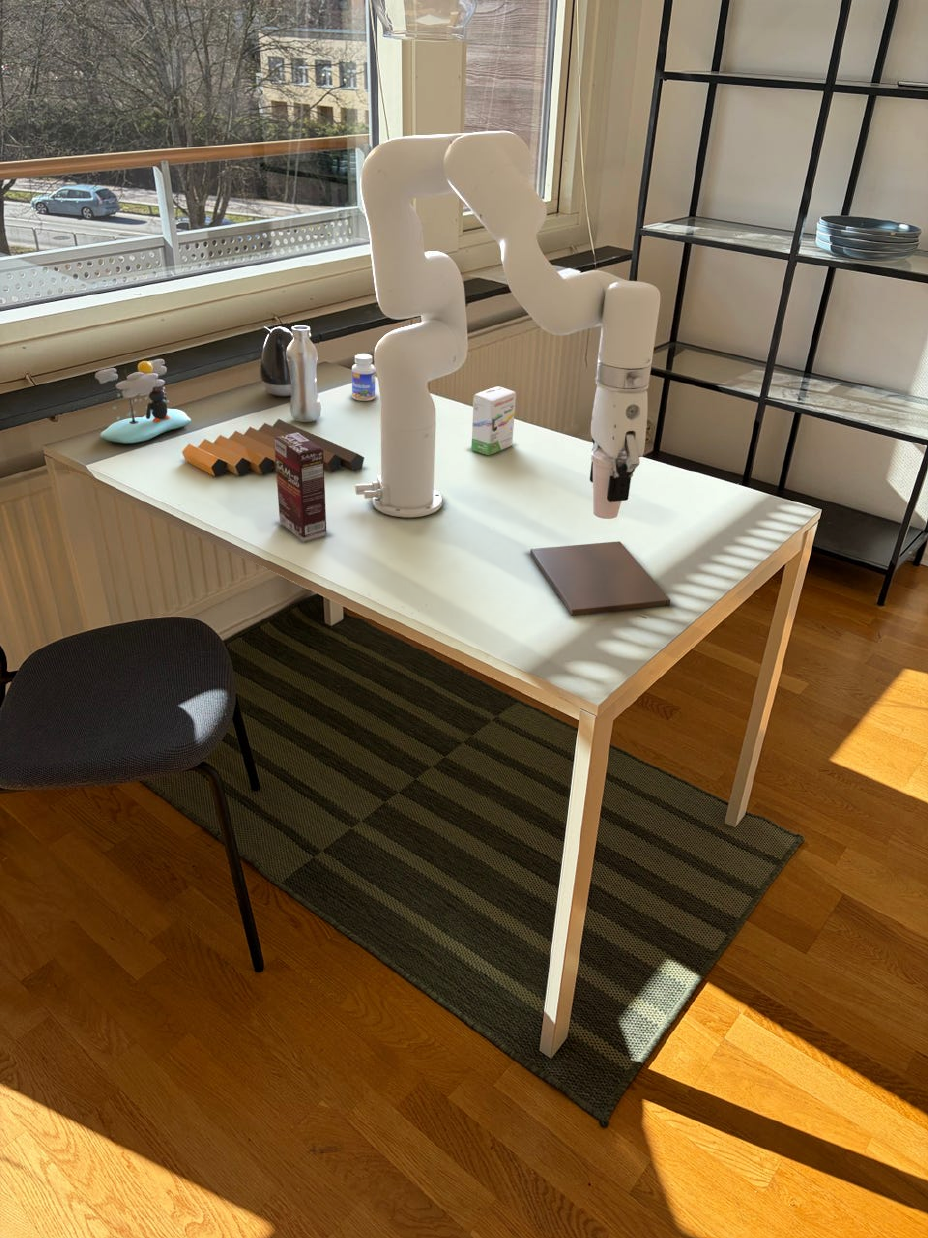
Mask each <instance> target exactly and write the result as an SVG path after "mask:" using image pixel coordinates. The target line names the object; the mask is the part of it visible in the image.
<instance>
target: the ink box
mask: <svg viewBox="0 0 928 1238" xmlns="http://www.w3.org/2000/svg"><path fill="white" fill-rule="evenodd" d="M516 399H517V392H516V391H514V390H511V389H509V388H505V387H503V386H500V385H499V386H494V387H491V388H489V389H485V390H483V391H480V392H477V393H475V394H474V395H473V400H472V424H471V425H472V426H471V443H470V445H471V446H470V450H471V451H472V452H476V453H480V454H483V455H485V456H492V455H494V454H496V453H498V452H500V451H503V450H504V449H507V448H509V447H512V446H513V443H514V441H513V439H514V429H515V428H514V425H515V412H516V402H517V401H516Z"/></svg>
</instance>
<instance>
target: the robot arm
mask: <svg viewBox="0 0 928 1238" xmlns="http://www.w3.org/2000/svg"><path fill="white" fill-rule="evenodd" d="M531 154H532V153H531V151H530V149H529V147H528V145H527V144H526V142H525V141H524V139H522V138H521V137H520V136H519V135H517V134H516V133H514V132H511V131H508V130H495V131H478V132H476V131H475V132H469V133H449V134H448V133H445V134H429V135H427V134H426V135H407V136H401V137H396V138H392V139H388V140H386V141H383V142H381V143H380V144H378V145H377V146H375V147H374V148H373V149H372V150H371V151H370V152H369V154H368V155H367V156H366V158H365V160H364V163H363V164H362V167H361V172H360V177H359V188H360V196H361V201H362V202H361V203H362V206H363V210H364V214H365V218H366V223H367V228H368V234H369V242H370V255H371V262H372V271H373V280H374V288H375V295H376V300H377V304H378V307H379V309H380V311H381V312H382V314H383V315H384V316H385V317H387V318H389V319H392V320H407V319H412V318H415V317H421V319H420V320H421V322H419V323H414V324H410V325H407V326H404V327H399V328H397V329H393V330H391V331H389V332H388V333H386V334H385V335H384V336H383V337H381V339H380V340H378V342H377V344H376V346H375V349H374V353H373V362H374V367H375V375H376V378H377V385H378V392H379V402H380V403H379V404H380V405H379V406H380V407H379V408H380V475H377V476H376V477H377V478H376V481H372V482H371V483H356V484H354V492H355V493H354V494H355V496H360V495H363V497H364V499H365V500H368V499H372V505H373V507H374V508H375V509H376V510H377V511H379V512H381V513H382V514H385V515H388V516H390V517H391V516H393V517H398V518H419V517H425V516H429V515H431V514H434V513H437V511H439V510H440V509H441V507H442V505H443V497H442V494H441V493H440V492H438V491H437V490H436V489H435V464H436V463H435V461H436V458H435V457H436V455H435V454H436V425H437V424H436V418H437V417H436V415H437V414H436V405H435V401H434V399H433V396H432V395H431V392H430V391H429V388H428V387H429V386H428V384H429V382H431V381H434V380H436V379H440V378H443V377H446V376H448V375H450V374H453V373H455V372H457V371H459V369H461V368H462V367H463V365H464V364H465V362H466V359H467V356H468V349H469V348H468V347H469V339H468V337H469V336H468V323H467V310H466V309H467V308H466V296H465V285H464V279H463V276H462V274H461V271H460V268H459V267H458V265H457V263H456V262H455V261H454V260H453V259H452V258H451V257H450V256H449V255H448V254H446V253H443V252H440V251H434V250H433V251H426V250H425V243H424V242H425V241H424V230H423V227H422V222H421V220H420V218H419V215H418V213H417V212H416V209H415V208H414V206H413V205H412V203H411V201H412V200H414V199H418V198H428V197H437V196H444V195H454V194H457V195H458V197H459V198H460V199H461V200H462V201H463V203H464V204H465V205H466V206H467V208H468V209H469V210H470V211H471V213H472V214H473V215H474V216H475V217H476V218H477V220H478V221H479V222H480V223H481V225H482V226H483V227H484V228H485V230H486V231H487V232H488V234H489V235H490V236H491V237H492V238H493V239H494V241H495V242H496V243H497V244H498V246H499V248H500V259H501V266H502V269H503V273H504V278H505V280H506V283H507V286H508V288H509V290H510V292H511V293H512V295H513V297H514V298H515V300H516V301H517V302H518V303H519V305H520V306H521V307H522V309H523V310H524V311H525V312H526V313H527V314H528V316H529V317H530V318H531V319H532V320H533V321H534V323H536V324H537V325H538V326H539V327H540V328H542V330H544V331H545V332H548V334H551V335H553V336H568V335H571V334H575V333H578V332H580V331H583V330H586V329H591V328H592V329H593V328H596V327H601V328H600V329H601V330H600V338H599V347H598V356H597V365H596V375H595V380H594V381H595V384H596V390H595V395H594V401H593V407H592V412H591V423H590V436H591V441H592V448H591V452H592V451H593V450H595V449H597V448H602V449H603V450H604V451H605V452H606V453H607V454H608V455H610V456H611V457H612V470H613V475H612V476H610V479H609V487H608V494H607V500H608V501H609V502H616V501H621V502H626V501H628V500H629V496H630V489H631V482H632V478H633V476H634V473H635V471H636V469H637V468H638V467H639V465H640V458H642V457H643V455H644V453H645V445H646V437H647V428H648V427H647V426H648V407H649V406H648V405H649V404H648V403H649V402H648V399H649V398H648V388H649V387H650V386H649V384H650V378H651V371H652V363H653V356H654V348H655V342H656V335H657V327H658V321H659V315H660V314H659V313H660V307H661V292H660V290H659V288H658V287H657V286H655V285H653V284H652V283H648V282H644V281H637V280H627V279H625V278H621V277H619V276H617V275H614V274H612V273H610V272H607V271H605V270H597V269H595V270H594V269H592V270H586V271H583V272H579V273H573V274H569V275H566V276H563V277H562V276H561V274H560V273H559V272H558V271H557V270H556V269H555V267H554V266H553V265H552V264H551V262H550V261H549V260H548V259H547V257H546V256H545V255H544V253H543V251H542V249H541V247H540V245H539V241H538V237H537V236H538V235H537V234H538V233H539V232H540V231H541V229H542V227H543V226H544V224H545V222H546V218H547V216H548V208H547V205H546V203H545V201H544V200H543V198H541V196H540V195H539V194H538V193H537V192H536V190H534V188H533V187H532V186H531V184H530V183H529V182H528V181H529V179H530V177H531V174H532V170H533V169H532V168H533V159H532V155H531ZM620 451H626V455H620V456H619V455H618V454H619V452H620ZM624 459H626V463H625V464H622V465H621V466H620V467H619V460H624ZM589 472H590V473H589V482H590V483H591V484H593V462H592V461H591V464H590V471H589Z"/></svg>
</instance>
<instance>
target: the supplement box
mask: <svg viewBox="0 0 928 1238" xmlns="http://www.w3.org/2000/svg"><path fill="white" fill-rule="evenodd" d="M274 445H275V459H276V469H275V471H276V473H275V474H276V483H277V484H276V485H277V486H276V487H277V488H276V489H277V500H278V502H277V503H278V516H279V524H280V525H282V526H283V527H284V528H286V529H287V530H289V531H290V532H291V533H293V535H295V536H296V537H297V538H298V539H300V540H301V541H302V542H303V543H304V542H307V541H311V540H315V539H318V538H322V537H325V536H327V533H328V532H327V515H326V514H327V513H326V512H327V511H326V489H325V487H326V486H325V485H326V484H325V469H324V458H323V449H322V448H321V447H318V446H317V445H315V444H314V443H312V442H311V441H309V440H308V439H306V438H305V437H303V436H302V435H300V434H299V433H298V432H296V433H291V434H286V435H282V436H278V437H275V438H274Z"/></svg>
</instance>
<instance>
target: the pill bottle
mask: <svg viewBox="0 0 928 1238" xmlns="http://www.w3.org/2000/svg"><path fill="white" fill-rule="evenodd" d="M354 363H355V364H353V365H352V366H351V397H352V399H354V400H356V401H360V402H369V401H372V400H374V399H375V398H376V369H375V365H373V364H372V363H373V355H371V354H368V353H358V354H356V355H354Z"/></svg>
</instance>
